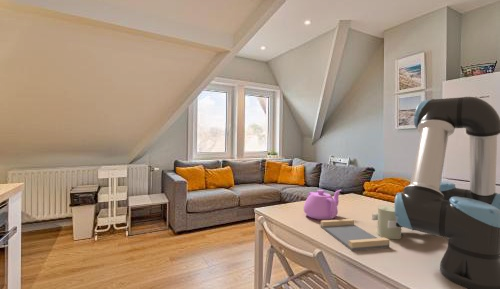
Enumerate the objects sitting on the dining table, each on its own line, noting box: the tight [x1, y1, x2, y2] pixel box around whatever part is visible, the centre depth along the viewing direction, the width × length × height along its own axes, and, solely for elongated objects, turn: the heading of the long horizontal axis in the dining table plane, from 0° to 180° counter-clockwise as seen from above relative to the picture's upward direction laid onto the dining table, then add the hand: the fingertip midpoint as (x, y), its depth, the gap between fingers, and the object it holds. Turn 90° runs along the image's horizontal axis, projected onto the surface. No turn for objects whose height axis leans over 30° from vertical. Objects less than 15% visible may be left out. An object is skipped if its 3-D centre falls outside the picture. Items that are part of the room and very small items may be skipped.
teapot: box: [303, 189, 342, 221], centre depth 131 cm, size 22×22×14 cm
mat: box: [320, 218, 391, 252], centre depth 105 cm, size 24×16×3 cm, turn 11°
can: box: [376, 205, 402, 240], centre depth 107 cm, size 9×9×12 cm
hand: (380, 220), depth 106 cm, fingers closed on can, 9 cm apart
